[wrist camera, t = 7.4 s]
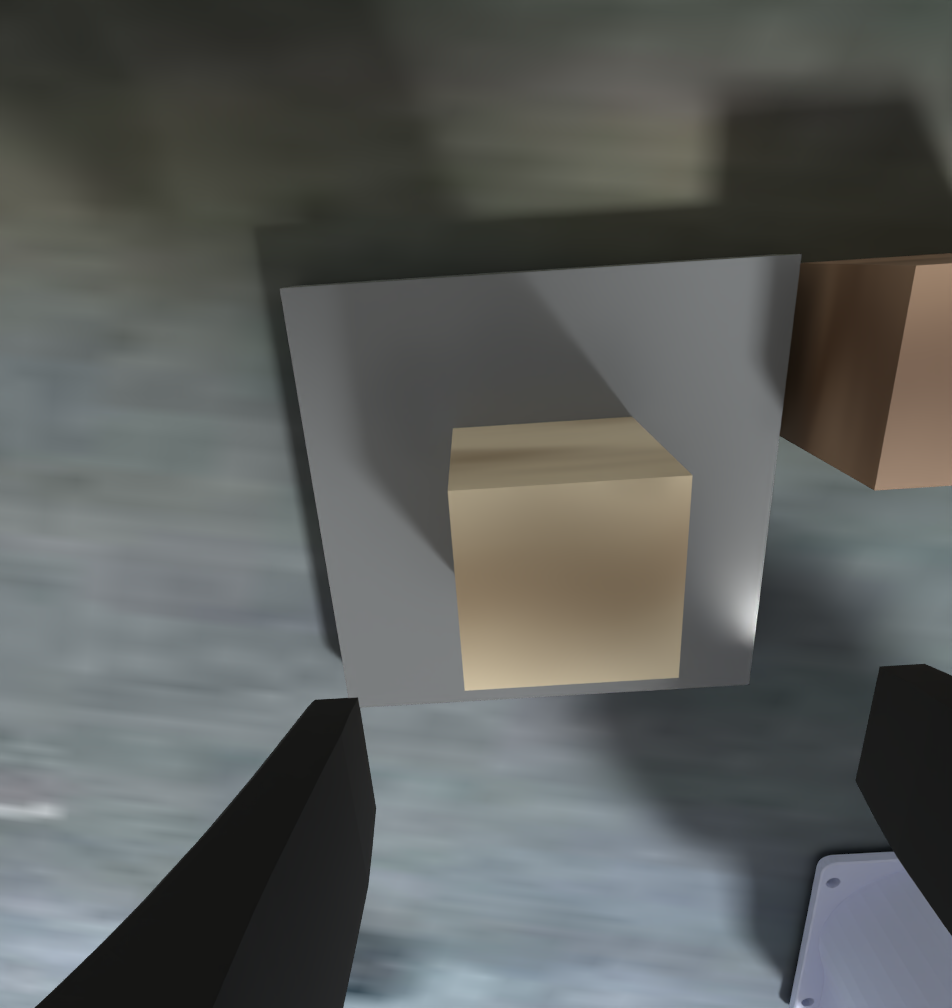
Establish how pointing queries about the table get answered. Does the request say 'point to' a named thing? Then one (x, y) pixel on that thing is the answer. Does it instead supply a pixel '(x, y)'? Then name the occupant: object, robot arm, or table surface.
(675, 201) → the table surface
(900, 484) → the walnut block
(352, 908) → the robot arm
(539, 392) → the plate
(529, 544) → the maple block
